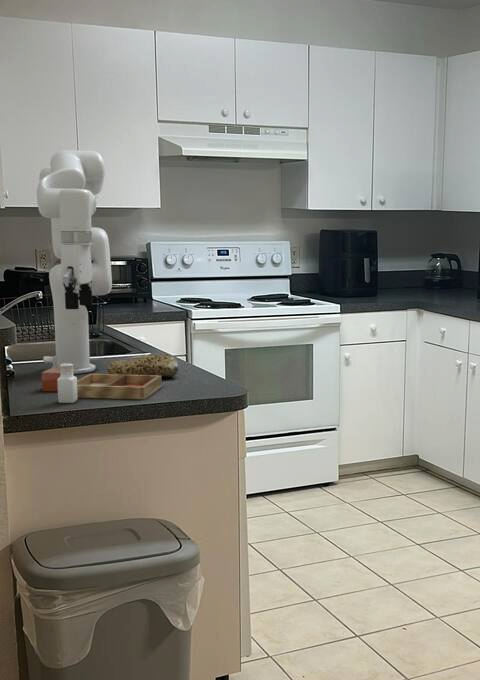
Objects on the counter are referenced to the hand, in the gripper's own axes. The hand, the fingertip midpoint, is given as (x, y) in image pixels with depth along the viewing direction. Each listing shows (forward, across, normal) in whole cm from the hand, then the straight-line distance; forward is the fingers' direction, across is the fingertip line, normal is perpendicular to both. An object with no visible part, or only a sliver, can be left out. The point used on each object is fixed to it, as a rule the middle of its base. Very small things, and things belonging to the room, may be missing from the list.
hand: (79, 307), depth 227 cm
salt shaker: (+24, +5, -2) cm, 24 cm away
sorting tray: (+23, -8, +6) cm, 25 cm away
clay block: (+23, -9, -11) cm, 27 cm away
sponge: (+23, -25, +8) cm, 35 cm away
